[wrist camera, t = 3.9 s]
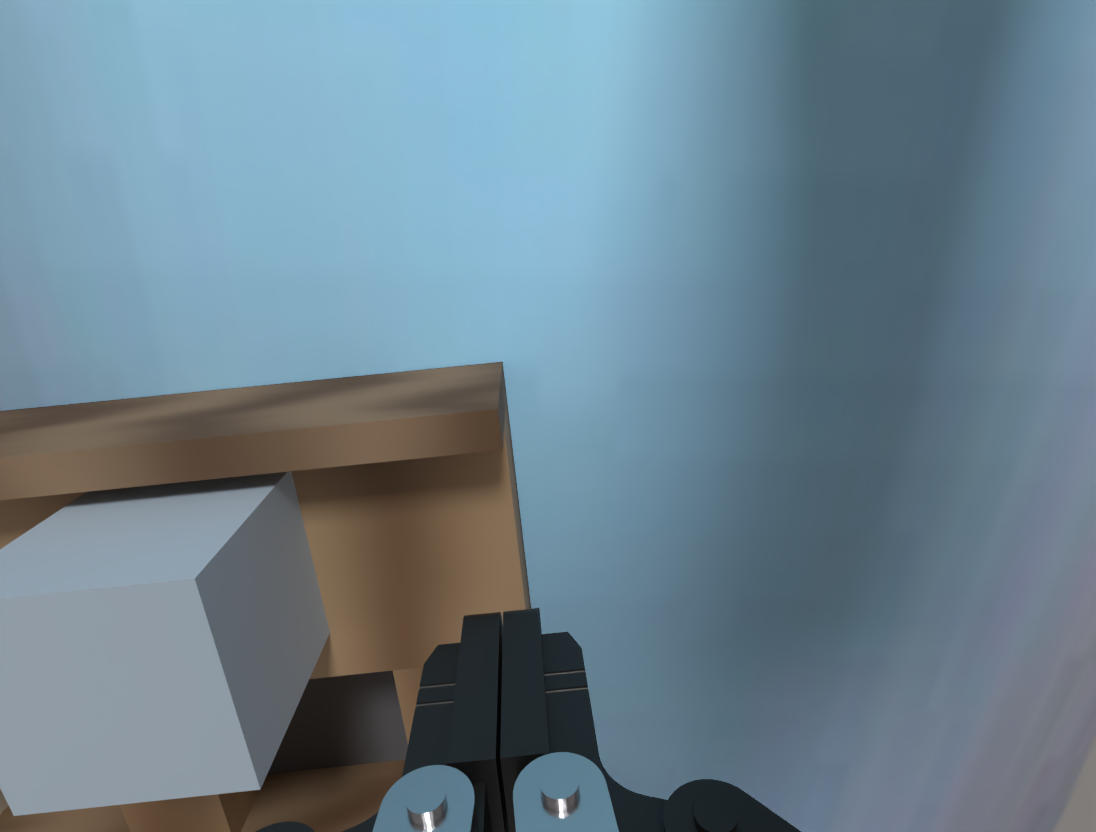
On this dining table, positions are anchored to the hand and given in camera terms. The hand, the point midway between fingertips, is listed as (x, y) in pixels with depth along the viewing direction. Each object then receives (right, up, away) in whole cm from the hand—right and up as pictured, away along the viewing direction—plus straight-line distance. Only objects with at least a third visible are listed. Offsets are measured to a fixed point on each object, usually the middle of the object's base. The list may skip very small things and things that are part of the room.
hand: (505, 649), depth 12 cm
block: (-8, +1, +4) cm, 9 cm away
